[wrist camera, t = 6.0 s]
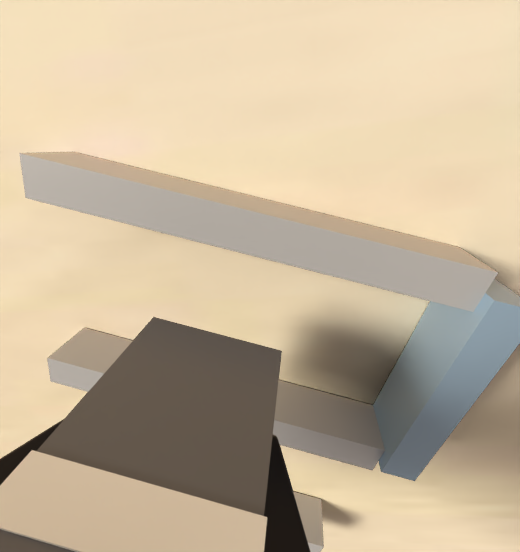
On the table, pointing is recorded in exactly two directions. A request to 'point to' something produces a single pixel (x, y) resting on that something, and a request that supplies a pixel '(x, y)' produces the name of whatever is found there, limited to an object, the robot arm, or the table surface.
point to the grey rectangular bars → (327, 260)
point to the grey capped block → (155, 453)
